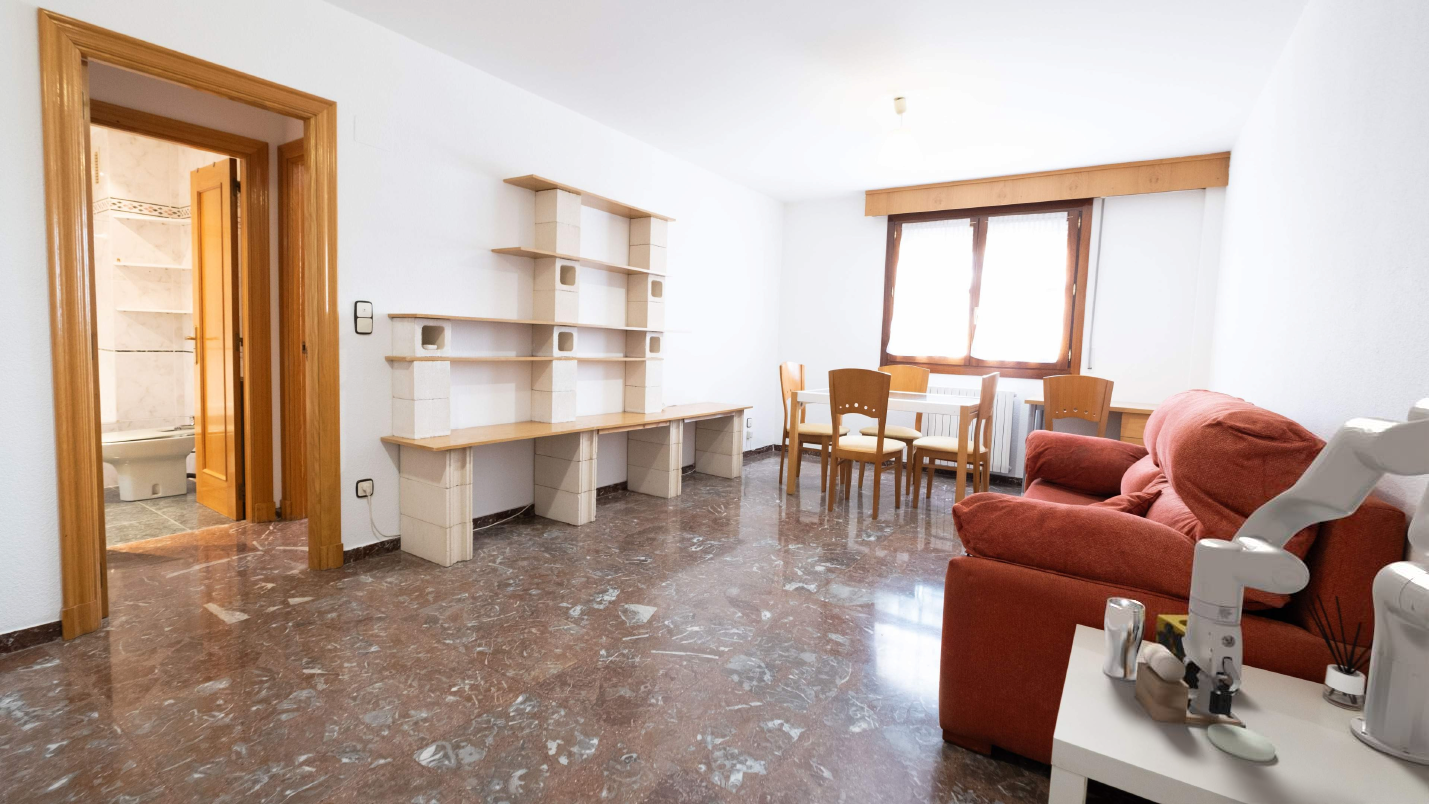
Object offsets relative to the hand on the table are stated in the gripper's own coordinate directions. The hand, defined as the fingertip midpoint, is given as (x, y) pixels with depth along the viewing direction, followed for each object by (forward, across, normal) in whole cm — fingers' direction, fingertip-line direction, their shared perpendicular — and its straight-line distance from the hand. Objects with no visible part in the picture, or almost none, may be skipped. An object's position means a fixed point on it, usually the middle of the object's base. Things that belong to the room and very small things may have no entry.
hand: (1205, 699), depth 121 cm
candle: (+3, +18, -7) cm, 20 cm away
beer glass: (+3, +13, +9) cm, 16 cm away
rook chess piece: (+3, 0, 0) cm, 3 cm away
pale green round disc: (+3, -9, -1) cm, 9 cm away
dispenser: (+3, 0, +3) cm, 4 cm away
